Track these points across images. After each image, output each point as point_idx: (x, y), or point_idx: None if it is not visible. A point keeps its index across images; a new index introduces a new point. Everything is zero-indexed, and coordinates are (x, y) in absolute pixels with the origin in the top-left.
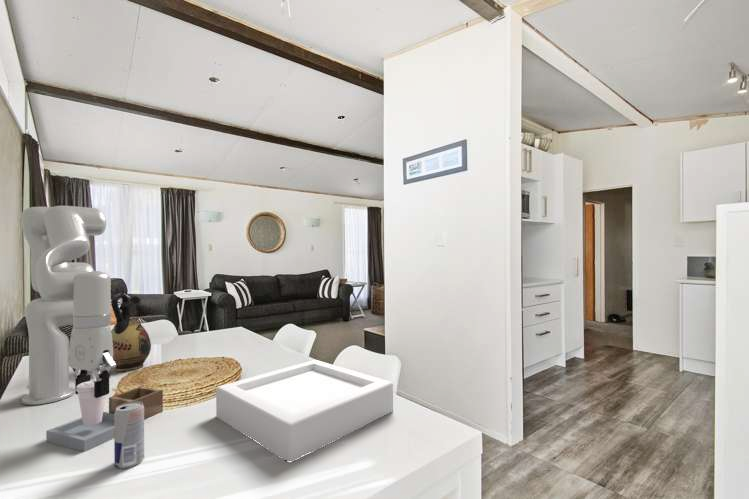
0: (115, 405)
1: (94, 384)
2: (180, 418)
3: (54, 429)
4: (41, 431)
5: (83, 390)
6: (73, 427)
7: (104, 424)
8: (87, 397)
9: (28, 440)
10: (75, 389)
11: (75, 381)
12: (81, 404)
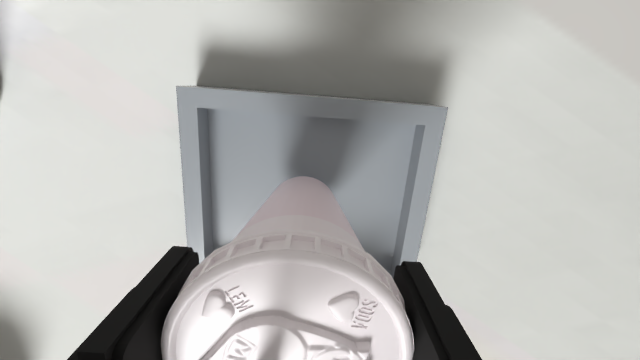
0: None
1: (127, 324)
2: None
3: (424, 127)
4: (534, 157)
5: (243, 247)
6: (404, 191)
7: None
8: (243, 232)
9: (512, 89)
10: (431, 282)
11: (464, 341)
12: (300, 203)
